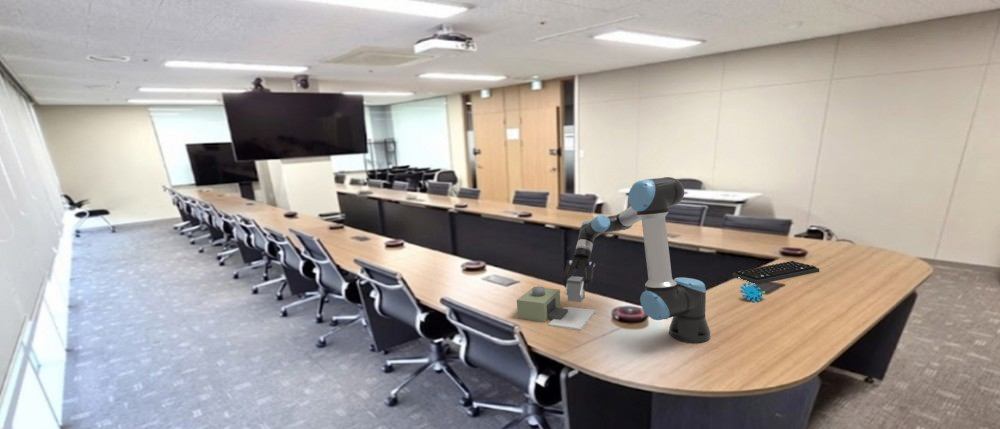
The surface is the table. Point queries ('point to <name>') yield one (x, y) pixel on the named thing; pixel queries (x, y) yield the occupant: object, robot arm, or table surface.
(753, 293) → the blue virus model
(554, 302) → the green knobbed box
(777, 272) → the computer keyboard
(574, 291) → the gray lidded box
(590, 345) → the table surface
